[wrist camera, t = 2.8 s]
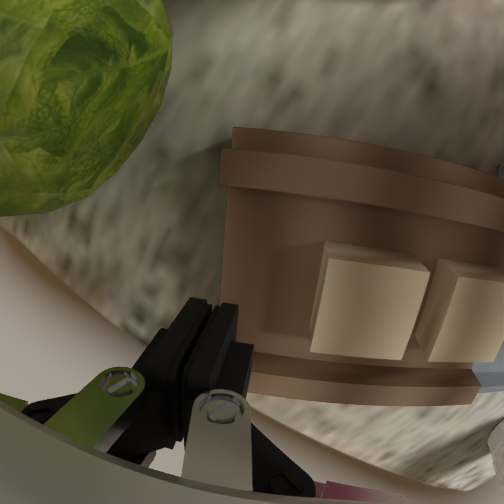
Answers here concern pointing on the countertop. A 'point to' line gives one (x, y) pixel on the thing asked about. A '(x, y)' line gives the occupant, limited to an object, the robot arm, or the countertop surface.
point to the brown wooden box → (348, 232)
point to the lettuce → (75, 94)
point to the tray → (500, 371)
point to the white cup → (498, 452)
